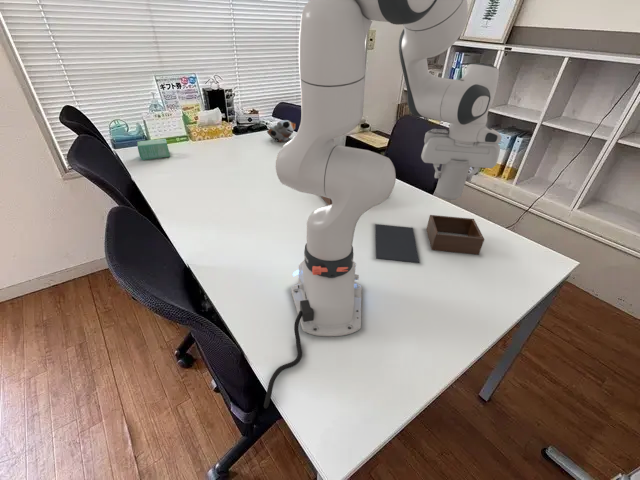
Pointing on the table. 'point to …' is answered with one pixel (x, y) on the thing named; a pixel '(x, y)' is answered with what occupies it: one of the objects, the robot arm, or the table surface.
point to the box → (153, 149)
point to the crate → (454, 242)
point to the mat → (396, 243)
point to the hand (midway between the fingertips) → (452, 179)
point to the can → (452, 179)
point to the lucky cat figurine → (282, 130)
